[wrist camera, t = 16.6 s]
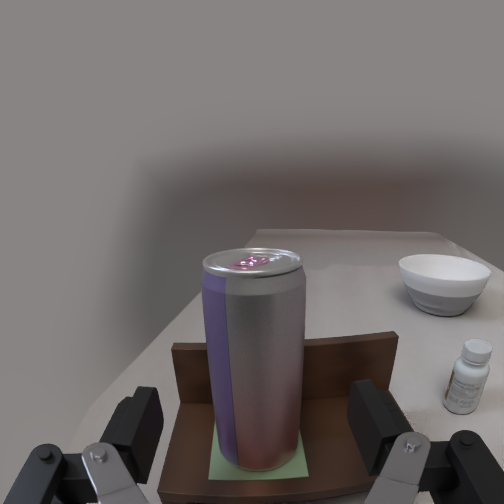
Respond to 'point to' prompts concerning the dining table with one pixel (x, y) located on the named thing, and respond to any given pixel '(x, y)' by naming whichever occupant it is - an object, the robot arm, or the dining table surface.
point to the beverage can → (255, 352)
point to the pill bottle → (468, 377)
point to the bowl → (443, 282)
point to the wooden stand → (310, 429)
